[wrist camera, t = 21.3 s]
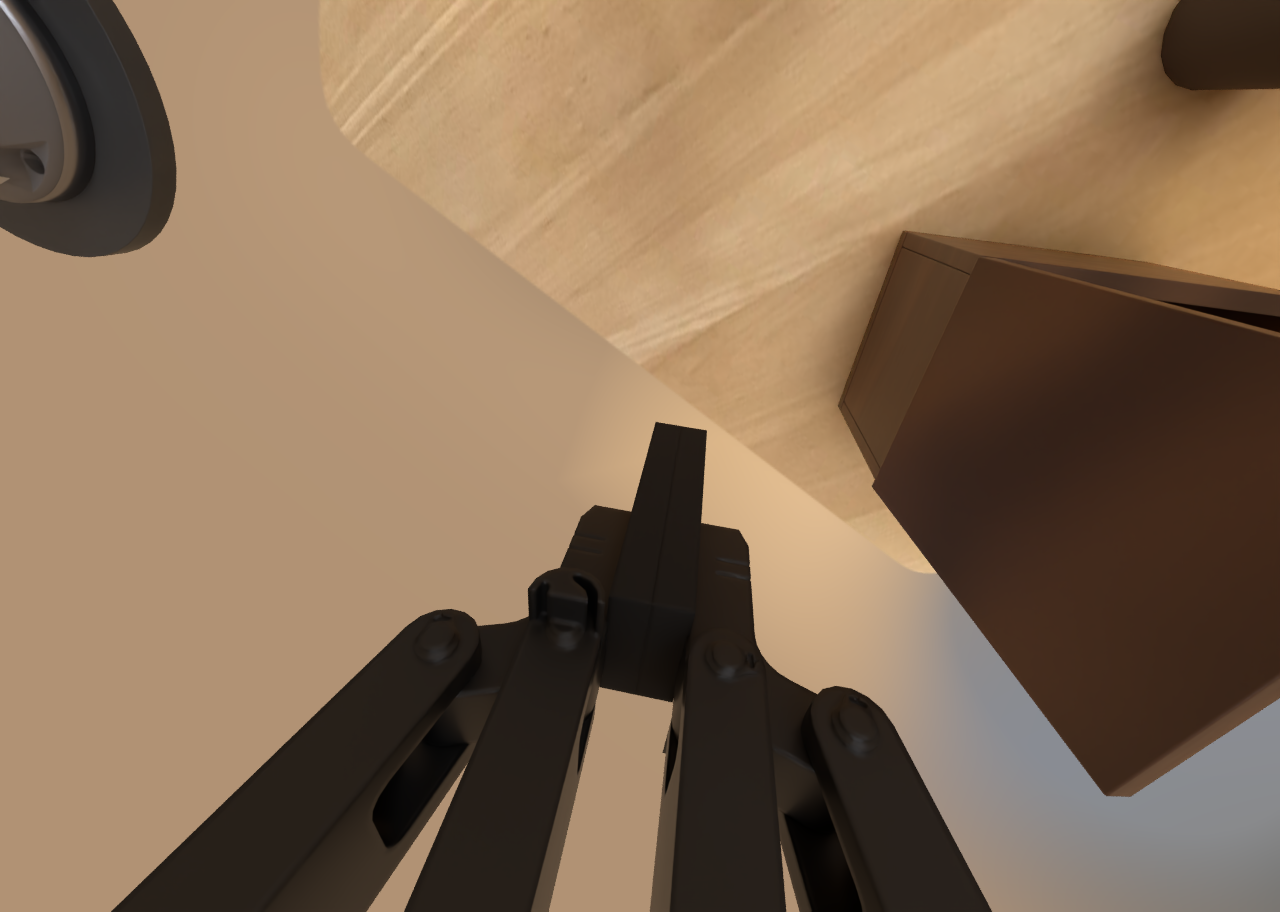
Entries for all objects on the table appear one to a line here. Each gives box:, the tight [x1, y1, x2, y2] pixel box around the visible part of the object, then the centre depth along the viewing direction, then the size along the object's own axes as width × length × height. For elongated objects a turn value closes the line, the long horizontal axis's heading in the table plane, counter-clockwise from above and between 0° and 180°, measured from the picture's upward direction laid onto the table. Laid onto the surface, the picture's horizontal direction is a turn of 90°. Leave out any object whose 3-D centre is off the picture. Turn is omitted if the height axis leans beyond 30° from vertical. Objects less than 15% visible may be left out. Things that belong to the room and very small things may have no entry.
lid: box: [872, 257, 1280, 797], centre depth 16 cm, size 14×12×1 cm
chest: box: [838, 231, 1280, 479], centre depth 26 cm, size 14×12×10 cm
